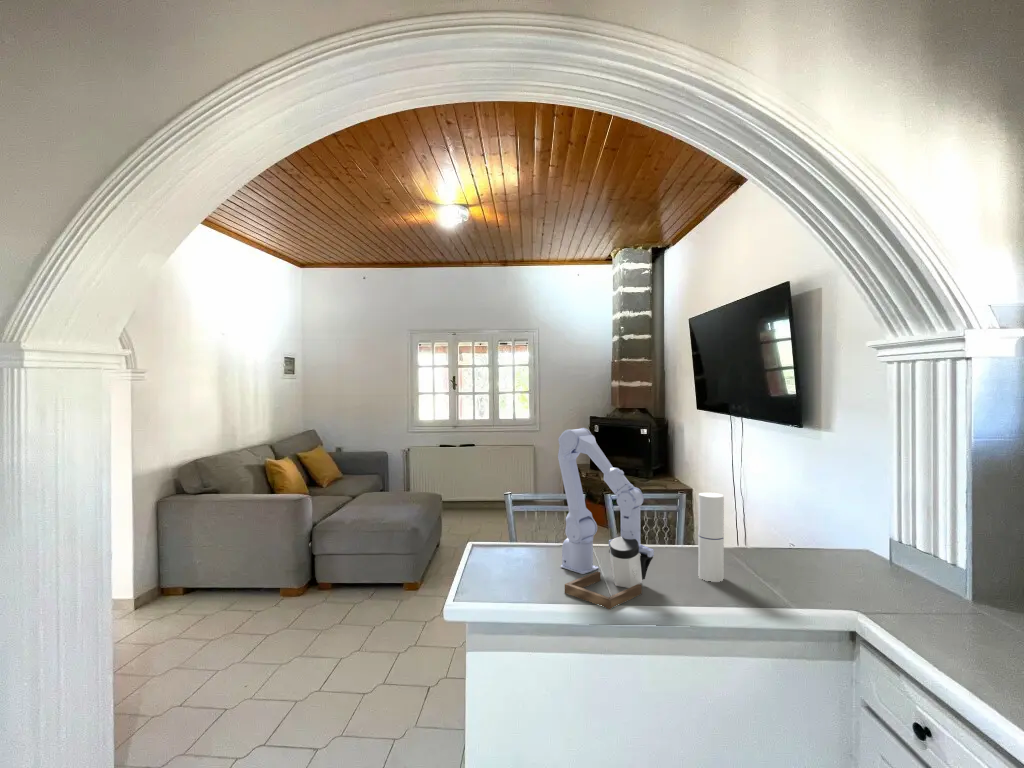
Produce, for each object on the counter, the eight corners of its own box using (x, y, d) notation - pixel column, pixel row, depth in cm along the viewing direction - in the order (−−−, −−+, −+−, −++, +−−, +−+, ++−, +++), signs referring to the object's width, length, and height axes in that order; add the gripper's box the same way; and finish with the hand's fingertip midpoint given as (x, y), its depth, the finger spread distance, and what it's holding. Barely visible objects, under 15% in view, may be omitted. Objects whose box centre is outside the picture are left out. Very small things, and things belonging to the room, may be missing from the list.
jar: (625, 592, 156) (622, 555, 153) (606, 579, 163) (602, 543, 160) (648, 579, 160) (645, 542, 157) (628, 567, 167) (625, 532, 164)
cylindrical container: (697, 580, 164) (697, 496, 164) (699, 572, 171) (699, 491, 171) (723, 583, 161) (723, 498, 161) (723, 575, 168) (724, 493, 168)
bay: (564, 592, 155) (564, 583, 155) (597, 579, 165) (597, 571, 165) (609, 609, 143) (609, 599, 143) (641, 594, 154) (641, 585, 154)
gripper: (659, 532, 161) (659, 578, 161) (618, 522, 171) (618, 566, 171) (646, 536, 156) (646, 584, 156) (604, 527, 166) (604, 572, 166)
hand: (630, 575), depth 163 cm, fingers open, 7 cm apart
